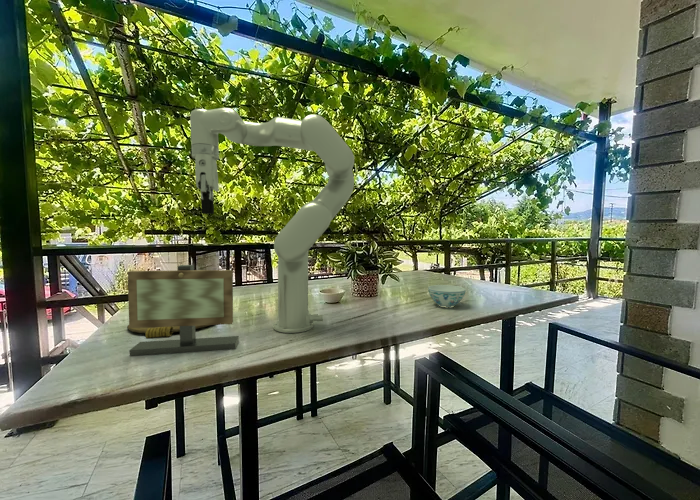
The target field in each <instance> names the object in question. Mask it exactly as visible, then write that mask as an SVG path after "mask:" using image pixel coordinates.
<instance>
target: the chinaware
mask: <svg viewBox="0 0 700 500" xmlns="http://www.w3.org/2000/svg"><path fill="white" fill-rule="evenodd" d="M427 291H428V293H429V297H430V298H431V299H432V301H433V302H435V304H437V306H438V305H440V306H446V307H451V306H455V307H456V305H457V304H459V303H461V302H462V301H463V299H464V297H465V296H466V295H465V294H466V291H467V289H466V287H462V286H458V285H451V284H435V285H429V286H427Z"/></svg>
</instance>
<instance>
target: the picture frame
mask: <svg viewBox="0 0 700 500" xmlns="http://www.w3.org/2000/svg"><path fill="white" fill-rule="evenodd" d="M233 275H234V273H233V269H209V270H207V269H203V270H202V269H201V270H200V269H199V270H198V269H195V270H179V271H178V270H129V271H127V293H128V300H127V301H128V325H129V328H148V327H172V326H196V325H209V326H214V325H215V326H217V325H218V326H219V325H221V326H222V325H233V323H234V291H233V290H234V286H233V285H234V282H233V281H234V278H233V277H234V276H233Z"/></svg>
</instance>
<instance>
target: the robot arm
mask: <svg viewBox="0 0 700 500" xmlns="http://www.w3.org/2000/svg"><path fill="white" fill-rule="evenodd" d="M189 118H190V119H189V120H190V140H191V142H190V143H191V144H190V145H191V157H192V159H195V161H194V162H195V164H194V165H195V167H194V169H195V170H194V171H195V186H196V188H197V189H199V190H200V195H201V196H200V198H201V200H200V203H201V214H203V215H206V214H207V215H213V214H215V208H214V207H215V205H214V203H215V202H214V191H215V192H216V193H217V192H219V191H220V187H219V174H218V173H219V172H218V165H217V161H219V160H220V152H219V150H220V149H219V148H220V147H219V134H221V135H223V136H224V137H225V138H226V139H227V140H229V141H230V142H232V143H235V144H240V145H246V146H247V145H248V146H253V147H272V146H273V147H274V146H275V147H276V146H277V147H284V148H292V149H298V150H305V151H310V152H311V151H312V152H315V153H316V155H317V156H318V158H320V159H321V160H322V161H323V163H324V164H325V167H324V168H325V171H326V173H327V175H328V181H327V183H326V185H325V186H324V187H323V188H322V189H321V190H320V191H319V193H318V194H317V195H316V196H315V198H313V199H312V200H311V201H309V202H307V203H305V204H304V205H302V206H301V207H300V208H299V210H298V211H296V213H295V214H294V215H293V217H291V218H290V220H289V221H287V223H286V224H285V226H284V227H283V228H282V229H281V230H280V232H279V233H278V234H277V235H276V237H275V239H274V242H273V249H274V253H275V254H276V255H277V258H278V259H277V309H278V311H277V313H278V314H277V316H278V317H277V318H278V321H276V322H274V323H273V327H272V328H273V329H274V330H275V331H276V332H279V333H283V334H284V333H285V334H287V333H288V334H296V333H301V332H302V333H303V332H306V331H309V330H311V329H312V328H314V322H323V320H324V319H323V314H318V313H317V314H312V313H310V311H309V250H310V249H311V247H312V246H313V245H314V244H315V243H316V242H317V241H318V240H319V238H320V237H321V236H322V235H323V234H324V233H325V232H326V230H327V229H328V228H329V226H330V225H331V221H332V220H333V219H334V218H335V217H336V215H337V214H338V213H340V211H341V210H342V209H343V206H345V204H346V203H347V202H348V200H349V199H350V197H352V196H351V195H352V193H353V192H354V191H353V190H354V187H355V176H354V172H353V167H354V165H355V155H354V153H353V151H352V149H351V148H350V146H349V145H348V144H347V143H346V142H345V141H344V139H343V138H342V137H341V136H340V135H339V133H338V132H337V131H336V130H335V128H334V127H333V126H332V124H330V122H329V121H327V119H325V118H324V117H323V116H321V115H319V114H316V113H315V114H314V113H313V114H311V113H310V114H308V115H306V116H305V117H304V118H302V119H301V120H300V119H295V118H294V119H293V118H289V117H282V116H275V117H273V118H272V119H271V120H269V121H267V122H251V121H246V120H243V119H242V117H241V116H240V115H239V113H238V112H237V111H236V110H234V109H233V108H231V107H219V108H214V109H205V108H196V109H193V110H191V112H190V117H189Z"/></svg>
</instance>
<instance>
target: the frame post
mask: <svg viewBox="0 0 700 500" xmlns="http://www.w3.org/2000/svg"><path fill="white" fill-rule="evenodd" d="M194 267H195V266H194V264H181V265H178V266H177V271H179V270H194V269H195V268H194ZM196 335H197V333H196V329H195V326H180V331H179V339H167V340H164V339H163V340H154V341H153V340H151V341H150V340H148V341H139V342H138V343H137V344H135V345H134V346H133V347H131V348H130V349H129V350H128V351H129V353H128V354H129V357H134V356H135V357H136V356H137V357H138V356H149V355H151V356H152V355H167V354H177V353H178V354H181V353H194V352H195V353H196V352H198V353H199V352H209V351H224V350H236V349H237V346H238V344H239V339H240V337H239V336H240V335H235V336H234V335H232V336H230V335H229V336H217V337H214V336H213V337H200V338H198V337H197V336H196Z"/></svg>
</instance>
